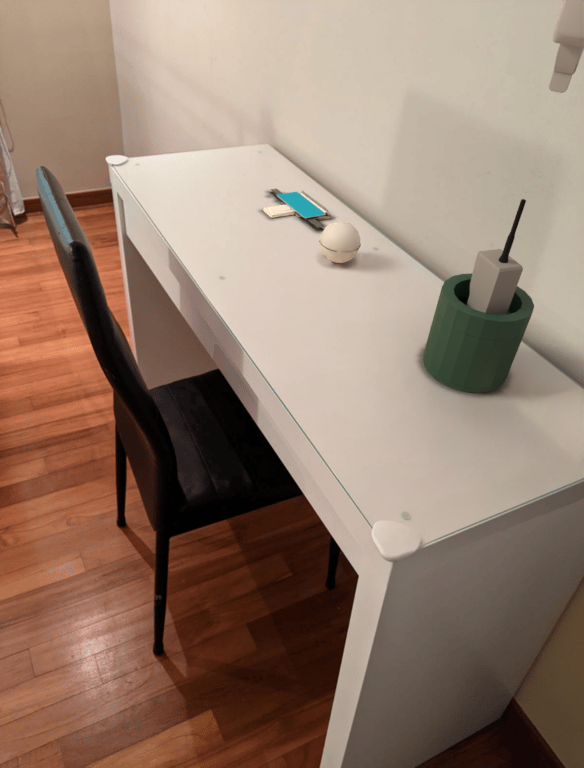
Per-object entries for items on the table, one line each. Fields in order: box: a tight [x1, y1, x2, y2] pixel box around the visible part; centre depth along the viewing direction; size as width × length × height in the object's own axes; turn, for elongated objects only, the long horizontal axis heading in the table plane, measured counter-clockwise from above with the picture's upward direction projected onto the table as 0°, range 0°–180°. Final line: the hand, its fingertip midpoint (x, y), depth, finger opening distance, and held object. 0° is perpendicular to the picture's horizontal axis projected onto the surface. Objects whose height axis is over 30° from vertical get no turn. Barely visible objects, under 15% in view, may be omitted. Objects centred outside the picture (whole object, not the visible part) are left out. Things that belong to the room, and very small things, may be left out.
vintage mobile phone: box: [466, 198, 527, 315], centre depth 81 cm, size 4×5×25 cm
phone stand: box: [262, 188, 332, 232], centre depth 127 cm, size 20×12×2 cm, turn 30°
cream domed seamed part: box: [319, 220, 364, 264], centre depth 109 cm, size 10×7×7 cm
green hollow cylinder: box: [422, 273, 535, 394], centre depth 86 cm, size 12×12×12 cm
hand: (561, 81), depth 65 cm, fingers open, 8 cm apart
